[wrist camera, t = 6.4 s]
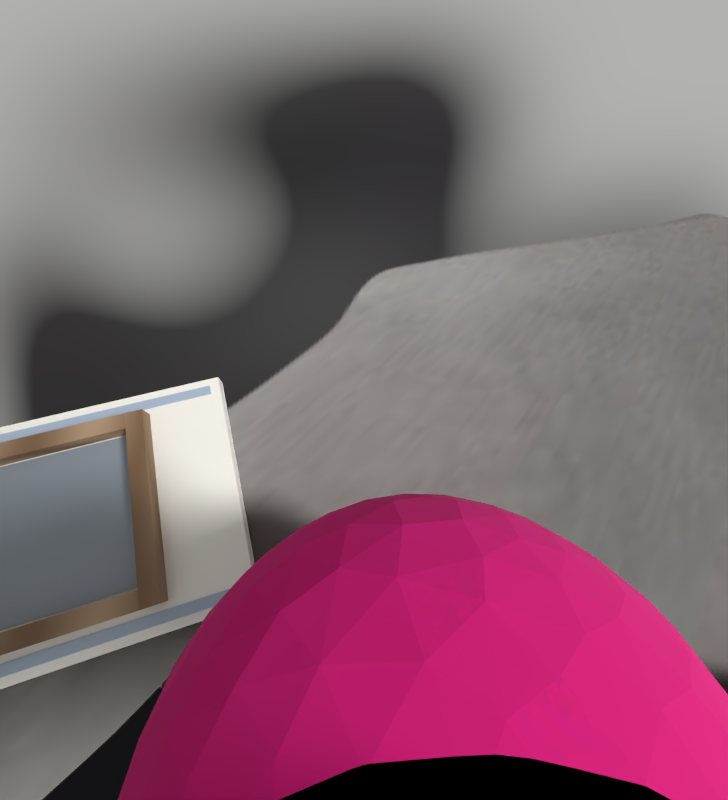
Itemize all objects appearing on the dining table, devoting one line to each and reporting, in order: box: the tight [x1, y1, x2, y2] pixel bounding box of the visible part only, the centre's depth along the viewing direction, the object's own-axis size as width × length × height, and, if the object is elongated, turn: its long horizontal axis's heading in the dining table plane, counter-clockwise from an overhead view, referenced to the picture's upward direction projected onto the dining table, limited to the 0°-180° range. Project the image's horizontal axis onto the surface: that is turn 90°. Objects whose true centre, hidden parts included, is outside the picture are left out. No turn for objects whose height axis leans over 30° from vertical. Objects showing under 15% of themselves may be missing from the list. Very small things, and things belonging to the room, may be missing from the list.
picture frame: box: [0, 377, 255, 689], centre depth 20 cm, size 20×14×1 cm
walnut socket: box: [0, 409, 168, 655], centre depth 19 cm, size 11×11×1 cm
